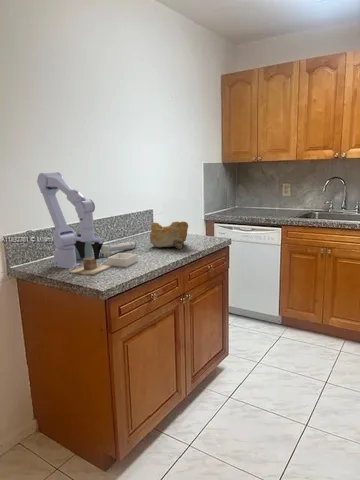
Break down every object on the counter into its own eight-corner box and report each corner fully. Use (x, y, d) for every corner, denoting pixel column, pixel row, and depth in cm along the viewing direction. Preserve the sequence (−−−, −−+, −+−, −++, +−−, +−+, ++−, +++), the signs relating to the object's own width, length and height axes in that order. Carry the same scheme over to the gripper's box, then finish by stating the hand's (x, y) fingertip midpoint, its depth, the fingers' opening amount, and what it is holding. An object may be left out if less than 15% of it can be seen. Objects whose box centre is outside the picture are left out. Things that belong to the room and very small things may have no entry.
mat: (67, 273, 159) (67, 272, 159) (87, 265, 171) (87, 264, 171) (93, 276, 153) (93, 275, 153) (112, 268, 166) (112, 266, 165)
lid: (69, 272, 159) (68, 261, 158) (87, 264, 170) (86, 254, 169) (93, 275, 154) (92, 263, 153) (111, 267, 165) (110, 256, 164)
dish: (108, 266, 169) (107, 257, 168) (119, 260, 178) (119, 252, 177) (126, 267, 165) (125, 259, 164) (137, 262, 174) (137, 254, 173)
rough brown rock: (198, 246, 206) (198, 220, 205) (184, 250, 192) (183, 222, 190) (163, 244, 218) (163, 219, 216) (147, 248, 204) (147, 221, 202)
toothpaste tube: (137, 241, 203) (104, 244, 182) (136, 253, 203) (104, 257, 183) (130, 240, 206) (97, 243, 185) (129, 252, 206) (96, 256, 185)
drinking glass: (97, 256, 189) (95, 233, 186) (87, 261, 179) (85, 237, 177) (80, 255, 192) (78, 232, 189) (69, 260, 182) (67, 236, 180)
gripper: (67, 229, 158) (70, 259, 160) (95, 230, 152) (97, 261, 154) (78, 226, 164) (81, 255, 167) (105, 227, 158) (107, 257, 161)
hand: (89, 258), depth 161 cm, fingers open, 7 cm apart
